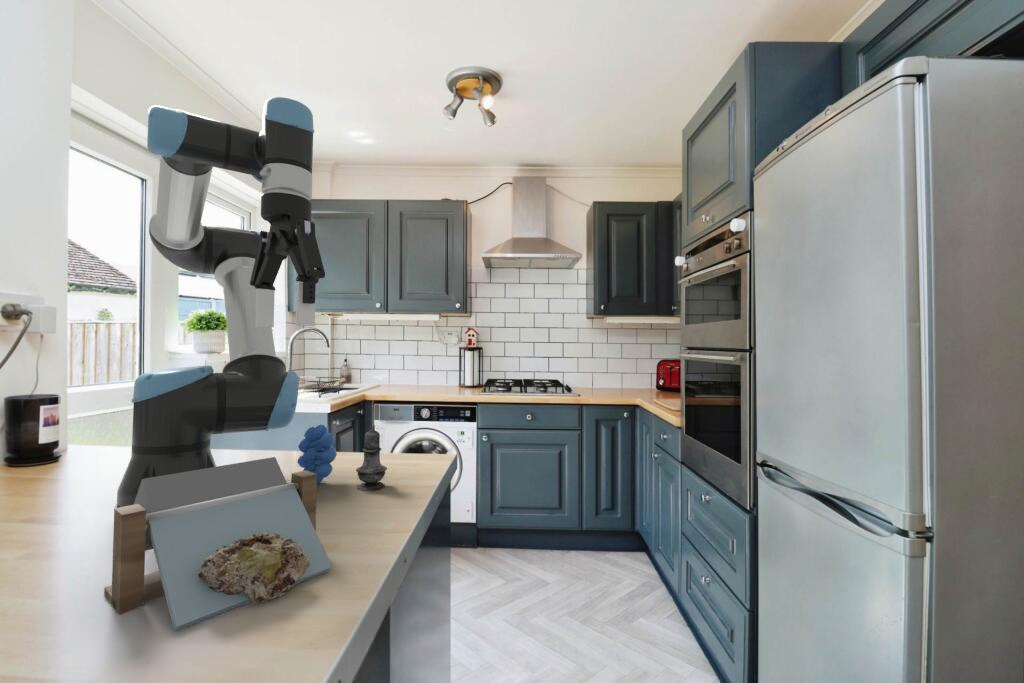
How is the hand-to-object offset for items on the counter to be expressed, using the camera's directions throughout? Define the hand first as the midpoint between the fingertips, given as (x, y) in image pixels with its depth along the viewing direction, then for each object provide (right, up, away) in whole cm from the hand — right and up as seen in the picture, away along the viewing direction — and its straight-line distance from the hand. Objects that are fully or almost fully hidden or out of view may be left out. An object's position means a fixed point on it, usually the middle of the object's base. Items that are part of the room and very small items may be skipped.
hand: (283, 326), depth 77 cm
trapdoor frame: (+2, -30, -20) cm, 36 cm away
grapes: (-1, -31, +18) cm, 36 cm away
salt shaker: (+10, -31, +16) cm, 36 cm away
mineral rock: (+9, -28, -25) cm, 38 cm away
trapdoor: (+2, -30, -19) cm, 35 cm away
